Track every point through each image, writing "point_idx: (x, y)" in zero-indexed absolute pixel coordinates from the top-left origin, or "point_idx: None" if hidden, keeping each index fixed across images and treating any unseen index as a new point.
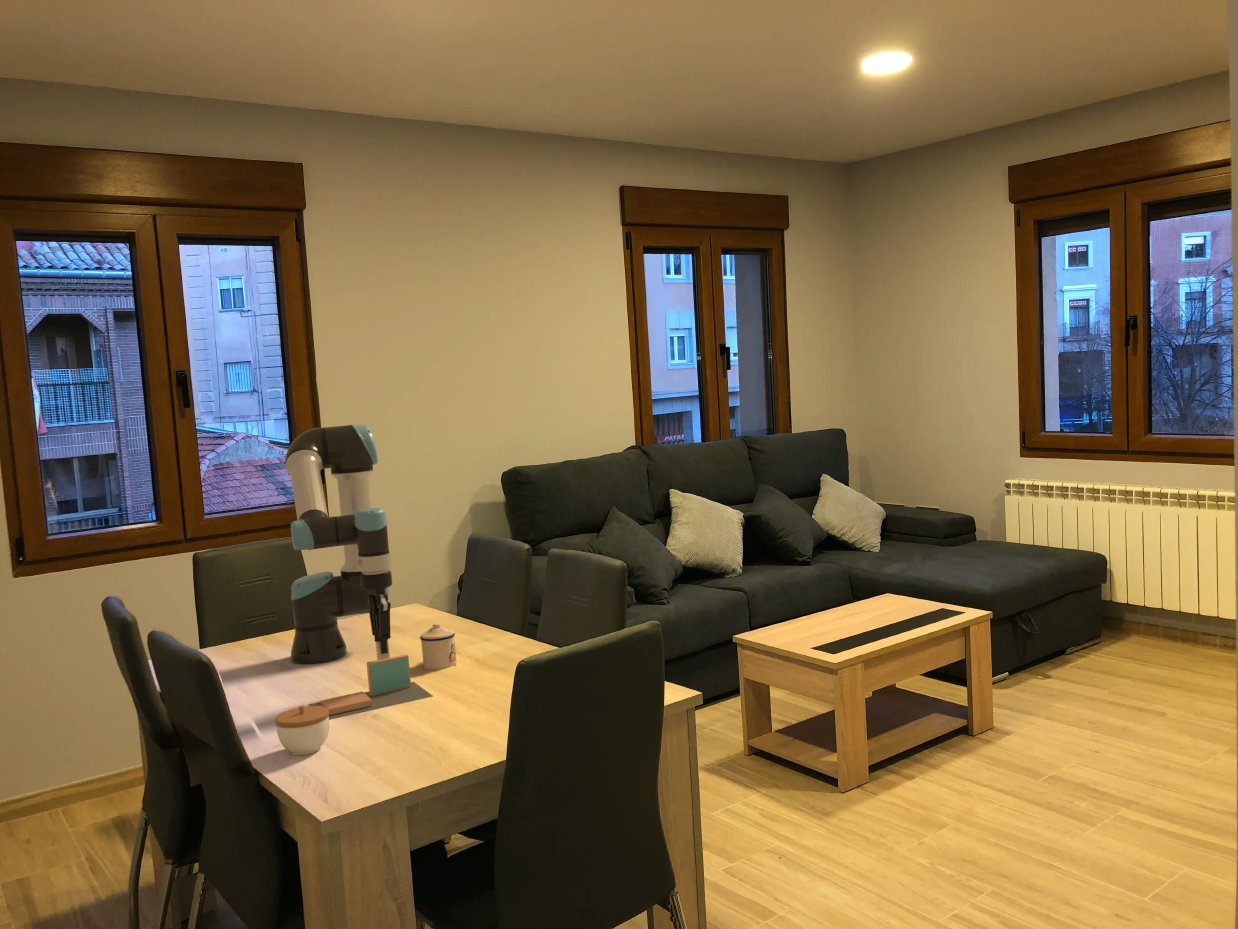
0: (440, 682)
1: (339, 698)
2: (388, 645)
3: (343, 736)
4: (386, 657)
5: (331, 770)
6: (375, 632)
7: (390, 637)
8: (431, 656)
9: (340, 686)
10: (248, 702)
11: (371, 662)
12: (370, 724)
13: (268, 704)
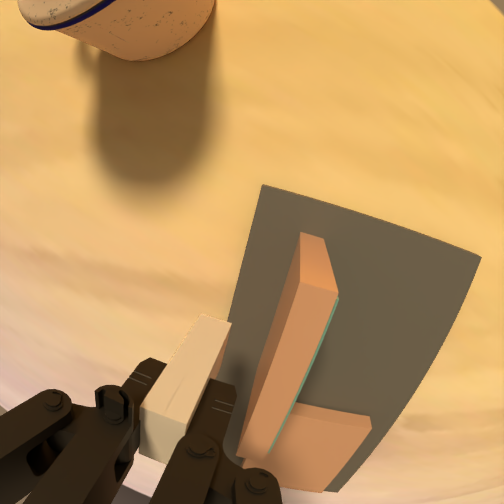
0: (344, 106)
1: (268, 459)
2: (199, 392)
3: (433, 483)
4: (217, 362)
5: (492, 500)
6: (117, 490)
7: (271, 476)
8: (155, 26)
9: (85, 336)
10: None
11: (259, 451)
12: (443, 444)
13: None
